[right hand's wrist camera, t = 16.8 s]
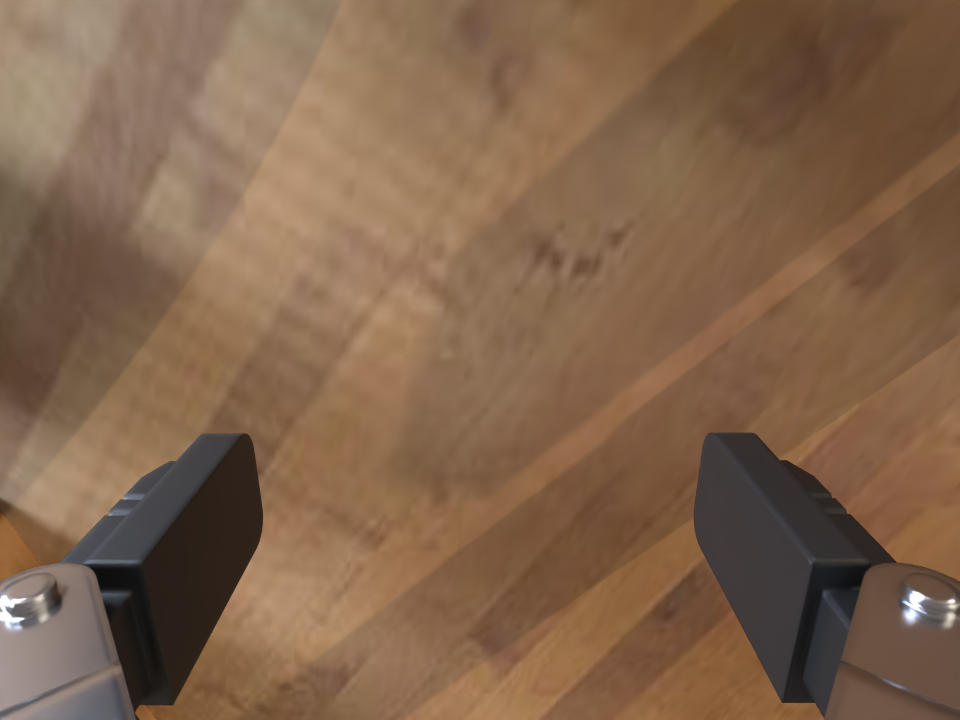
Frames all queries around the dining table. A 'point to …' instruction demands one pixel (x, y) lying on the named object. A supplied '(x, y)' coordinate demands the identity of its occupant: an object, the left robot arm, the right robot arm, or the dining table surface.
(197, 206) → the dining table surface
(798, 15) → the dining table surface
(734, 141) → the dining table surface
